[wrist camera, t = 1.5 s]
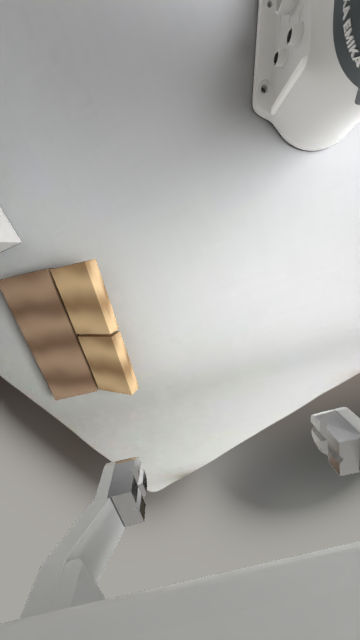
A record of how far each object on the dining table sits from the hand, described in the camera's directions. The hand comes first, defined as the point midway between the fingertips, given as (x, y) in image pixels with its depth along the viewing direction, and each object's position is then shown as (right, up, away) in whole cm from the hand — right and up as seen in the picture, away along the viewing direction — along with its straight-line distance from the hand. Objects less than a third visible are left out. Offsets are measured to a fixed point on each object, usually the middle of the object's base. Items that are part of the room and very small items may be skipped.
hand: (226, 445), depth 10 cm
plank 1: (-17, +9, +25) cm, 32 cm away
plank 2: (-14, -1, +29) cm, 32 cm away
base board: (-24, +3, +30) cm, 38 cm away
